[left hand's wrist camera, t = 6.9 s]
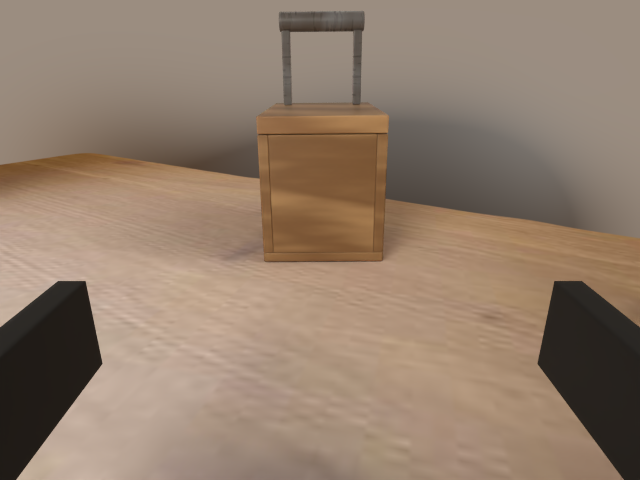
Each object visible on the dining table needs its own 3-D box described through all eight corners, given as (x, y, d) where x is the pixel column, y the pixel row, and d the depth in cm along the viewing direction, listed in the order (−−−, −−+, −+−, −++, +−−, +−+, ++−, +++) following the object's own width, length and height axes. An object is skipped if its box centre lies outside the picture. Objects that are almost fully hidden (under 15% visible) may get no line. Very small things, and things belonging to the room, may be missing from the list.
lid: (276, 116, 44) (272, 15, 40) (368, 115, 43) (371, 14, 40) (257, 134, 31) (248, -12, 27) (388, 133, 30) (394, -13, 27)
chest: (279, 211, 46) (275, 117, 43) (366, 210, 46) (368, 116, 43) (264, 261, 34) (257, 135, 31) (382, 261, 34) (388, 134, 30)
